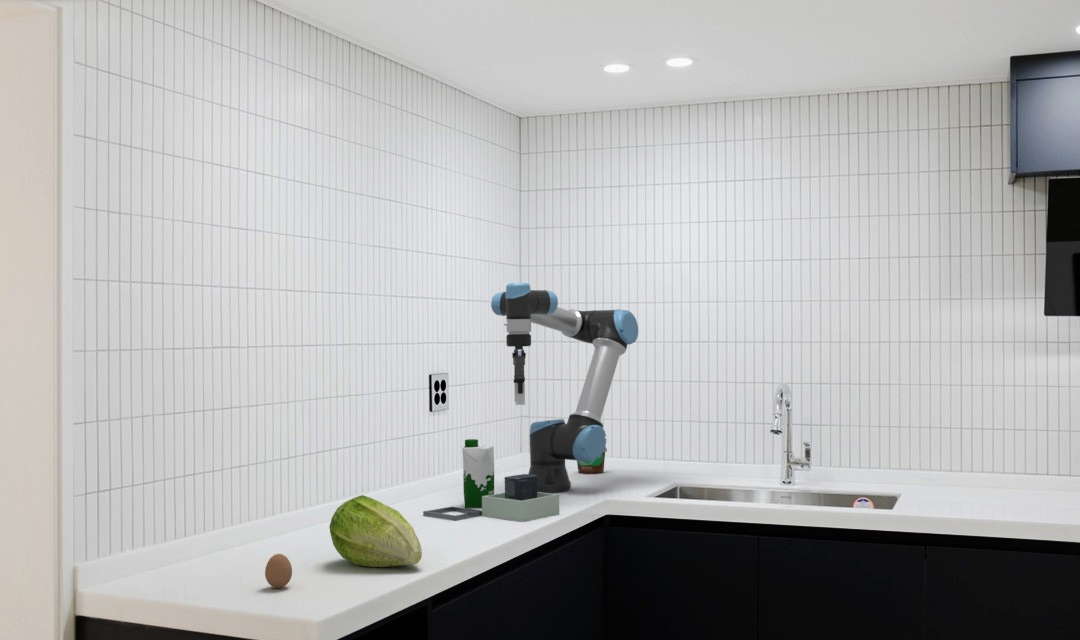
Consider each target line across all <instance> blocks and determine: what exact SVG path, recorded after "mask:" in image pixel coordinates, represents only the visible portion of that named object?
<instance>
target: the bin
mask: <svg viewBox="0 0 1080 640" xmlns="http://www.w3.org/2000/svg"><path fill="white" fill-rule="evenodd" d="M481 510H482V516H481V517H487V518H494V519H500V520H506V519H507V520H508V521H513V520H514V521H515V522H520V521H523V522H527V521H526V520H528V521H532V520H531V519H533V520H537V519H536V518H538V519H542V518H541V517H543V518H547V516H548V517H551V516H556V515H557V516H558V515H560V494H557V493H556V494H555V493H551V492H537V498H534V499H529V500H523V501H519V500H512V499H505V491H504V492H498V493H494V494H492V495H487V496H482V508H481ZM514 521H513V522H514Z"/></svg>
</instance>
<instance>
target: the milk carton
mask: <svg viewBox="0 0 1080 640" xmlns="http://www.w3.org/2000/svg"><path fill="white" fill-rule="evenodd" d="M461 449H462V450H461V451H462V465H463V466H462V467H463V468H462V470H463V471H462V472H463V473H462V474H463V479H462V481H463V499H464V500H463V503H464V508H468V509H482V496H487V495H492V494H495V456H494V454H495V452H494V449H495V448H494V445H485V444H484V445H483V444H482V445H481V444H480V445H479V440H478V439H477V438H475V439H473V438H469V439H465V440H464V446H463V447H462V448H461Z"/></svg>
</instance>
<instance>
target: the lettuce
mask: <svg viewBox="0 0 1080 640" xmlns="http://www.w3.org/2000/svg"><path fill="white" fill-rule="evenodd" d="M329 533H330V537H331V540H332V545H333V547H334V548H335V550H336V552H337V553H338V554H339V555H340V556H341V557H342V559H344V560H346V561H348V562H350V563H352V564H354V565H357V566H363V567H371V568H379V567H380V568H385V567H396V566H405V565H407V566H410V565H411V566H413V565H417V564H418V563H419V562H420V561H421V560H422V558H423V557H422V556H423V549H422V545H421V543H420V539H419V537H418V536H417V534H416V532H415V529H414V527H413V525H412V524H411V523H409V521H408V520H407V519H406V518H405V517H404V516H403V515H402V514H401V512H399V511H398V510H397V509H394V507H393V508H392V507H390V506H388V505H386V504H384V503H382V502H381V501H379V500H377V499H375V498H372V497H369V496H367V495H363V494H361V495H358V496H355V497H353V498H351V499H349V500H346V501H345V502H343V503H342V504H341V505H339V506H338V507H337V508H336V510H335V511H334V514H333V515H332V517H331V520H330V524H329Z"/></svg>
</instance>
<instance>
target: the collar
mask: <svg viewBox="0 0 1080 640" xmlns="http://www.w3.org/2000/svg"><path fill="white" fill-rule="evenodd" d="M449 512H456V513H462V514H456V515H454V514H449ZM447 513H448V514H447ZM422 516H423V517H428V518H437V519H442V520H449V521H456V522H457V521H461V520H467V519H473V518H476V517H483V516H482V509H481V510H480V509H476V508H465V507H459V506H452V505H451V506H446V507H441V508H435V509H429V510H424V511H422Z"/></svg>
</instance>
